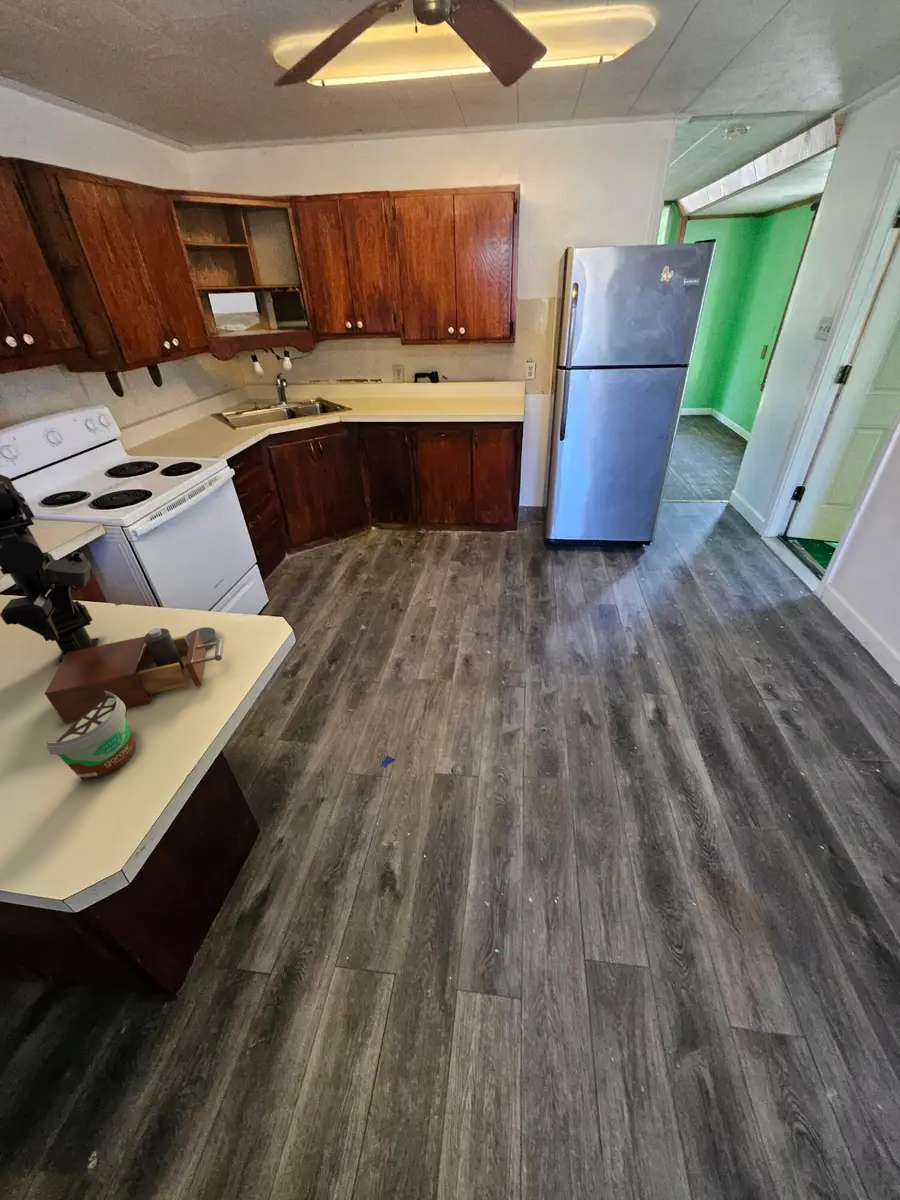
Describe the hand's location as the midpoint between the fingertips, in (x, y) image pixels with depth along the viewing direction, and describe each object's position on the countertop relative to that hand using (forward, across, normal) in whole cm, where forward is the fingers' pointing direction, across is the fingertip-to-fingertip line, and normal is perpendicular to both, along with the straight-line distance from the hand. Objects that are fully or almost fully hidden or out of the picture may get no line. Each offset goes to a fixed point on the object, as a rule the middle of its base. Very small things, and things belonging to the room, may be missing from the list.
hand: (63, 626), depth 94 cm
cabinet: (+13, -7, -6) cm, 16 cm away
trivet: (+13, +4, -21) cm, 25 cm away
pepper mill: (+11, -7, -17) cm, 21 cm away
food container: (+13, -26, -10) cm, 31 cm away
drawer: (+12, -7, -18) cm, 23 cm away
